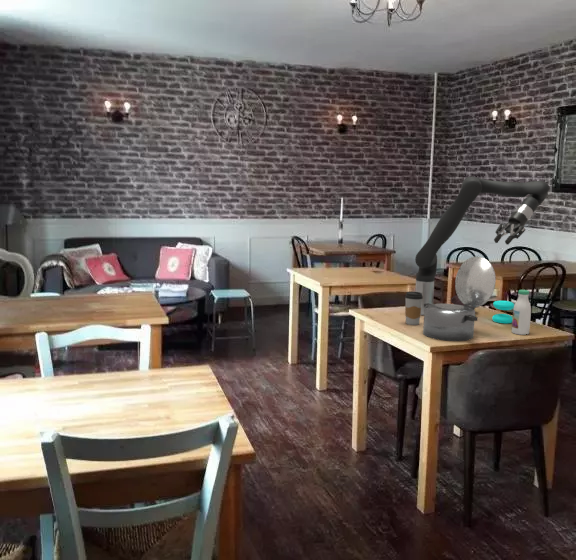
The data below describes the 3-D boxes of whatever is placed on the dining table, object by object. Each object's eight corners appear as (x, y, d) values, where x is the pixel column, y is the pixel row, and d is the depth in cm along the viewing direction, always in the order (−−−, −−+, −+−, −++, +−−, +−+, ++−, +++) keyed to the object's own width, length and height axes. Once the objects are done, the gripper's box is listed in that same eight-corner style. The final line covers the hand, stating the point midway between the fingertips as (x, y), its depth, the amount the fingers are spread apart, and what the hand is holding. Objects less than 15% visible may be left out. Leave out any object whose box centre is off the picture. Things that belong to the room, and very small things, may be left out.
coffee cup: (420, 322, 315) (422, 291, 313) (422, 326, 307) (423, 295, 305) (402, 321, 316) (404, 291, 314) (404, 325, 308) (406, 294, 305)
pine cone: (445, 309, 347) (446, 290, 345) (457, 307, 352) (459, 289, 350) (471, 315, 332) (472, 296, 330) (484, 313, 338) (485, 294, 336)
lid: (487, 312, 286) (492, 313, 288) (498, 260, 284) (503, 261, 286) (450, 303, 306) (455, 303, 307) (460, 253, 304) (465, 254, 305)
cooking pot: (491, 340, 284) (493, 313, 282) (454, 345, 273) (455, 318, 271) (442, 324, 311) (444, 300, 309) (406, 329, 300) (408, 304, 298)
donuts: (504, 299, 325) (519, 303, 316) (503, 318, 327) (517, 323, 318) (489, 300, 321) (503, 304, 312) (487, 320, 323) (501, 324, 314)
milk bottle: (528, 332, 301) (532, 289, 297) (529, 335, 293) (533, 292, 290) (511, 330, 303) (514, 288, 300) (511, 334, 296) (514, 291, 293)
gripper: (505, 209, 307) (485, 235, 304) (529, 211, 295) (509, 238, 291) (512, 220, 311) (492, 246, 307) (536, 223, 298) (516, 249, 295)
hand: (500, 242), depth 299 cm, fingers open, 6 cm apart
